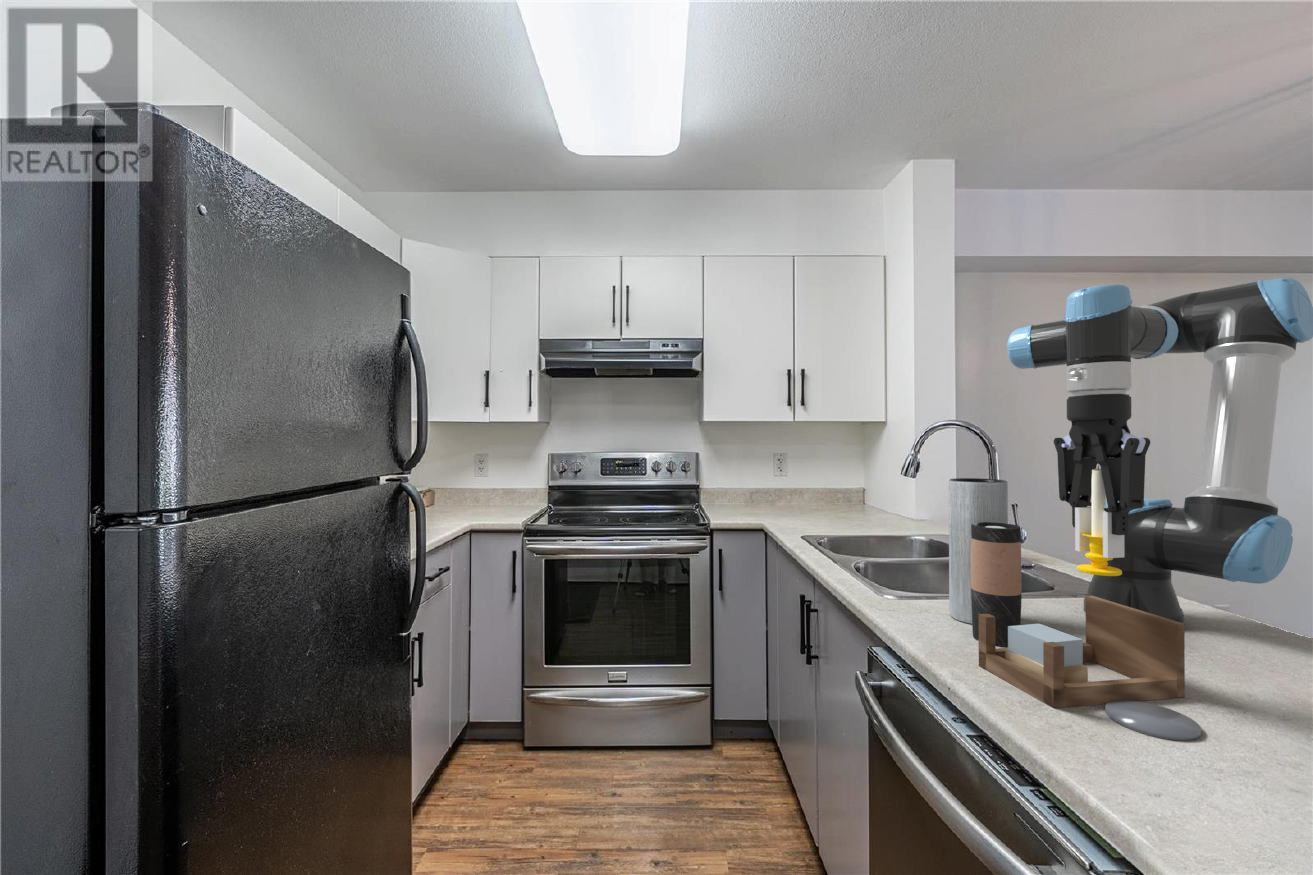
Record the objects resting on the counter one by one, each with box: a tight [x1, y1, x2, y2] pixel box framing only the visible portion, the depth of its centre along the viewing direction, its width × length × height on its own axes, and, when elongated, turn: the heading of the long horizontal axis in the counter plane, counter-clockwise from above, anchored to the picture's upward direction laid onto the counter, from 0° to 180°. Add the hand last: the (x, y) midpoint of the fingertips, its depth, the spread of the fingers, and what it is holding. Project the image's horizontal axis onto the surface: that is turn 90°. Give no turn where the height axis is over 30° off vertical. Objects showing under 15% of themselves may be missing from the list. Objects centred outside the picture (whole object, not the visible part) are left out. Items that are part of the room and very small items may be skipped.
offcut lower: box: [1005, 647, 1089, 684], centre depth 83 cm, size 6×8×4 cm
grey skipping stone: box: [1104, 700, 1202, 742], centre depth 71 cm, size 9×9×1 cm
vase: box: [948, 477, 1009, 625], centre depth 112 cm, size 10×10×27 cm
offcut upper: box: [1007, 623, 1084, 667], centre depth 83 cm, size 6×7×4 cm
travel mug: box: [971, 522, 1023, 648], centre depth 100 cm, size 8×8×20 cm
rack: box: [978, 595, 1186, 709], centre depth 83 cm, size 20×14×10 cm
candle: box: [1076, 465, 1122, 576], centre depth 84 cm, size 5×5×16 cm
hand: (1099, 553), depth 84 cm, fingers closed on candle, 4 cm apart
